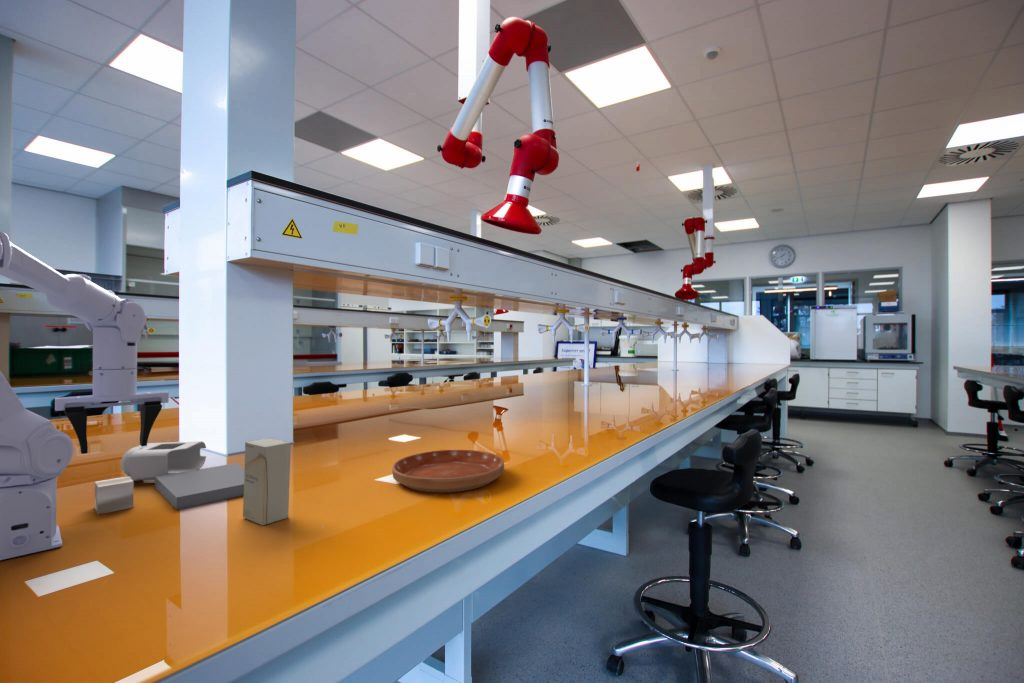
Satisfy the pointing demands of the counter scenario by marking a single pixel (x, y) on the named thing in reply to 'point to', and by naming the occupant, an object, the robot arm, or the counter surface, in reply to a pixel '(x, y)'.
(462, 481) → the saucer
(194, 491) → the base plate
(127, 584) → the counter surface
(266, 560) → the counter surface
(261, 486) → the skincare box
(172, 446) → the cable organizer
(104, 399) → the robot arm
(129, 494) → the ash cube
